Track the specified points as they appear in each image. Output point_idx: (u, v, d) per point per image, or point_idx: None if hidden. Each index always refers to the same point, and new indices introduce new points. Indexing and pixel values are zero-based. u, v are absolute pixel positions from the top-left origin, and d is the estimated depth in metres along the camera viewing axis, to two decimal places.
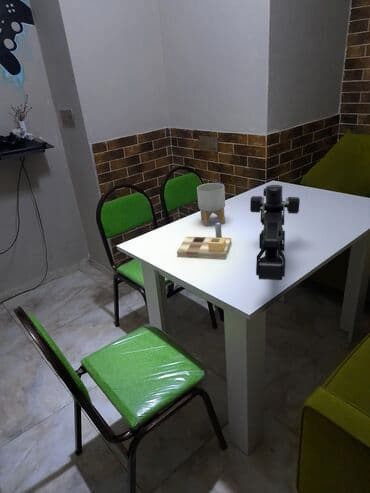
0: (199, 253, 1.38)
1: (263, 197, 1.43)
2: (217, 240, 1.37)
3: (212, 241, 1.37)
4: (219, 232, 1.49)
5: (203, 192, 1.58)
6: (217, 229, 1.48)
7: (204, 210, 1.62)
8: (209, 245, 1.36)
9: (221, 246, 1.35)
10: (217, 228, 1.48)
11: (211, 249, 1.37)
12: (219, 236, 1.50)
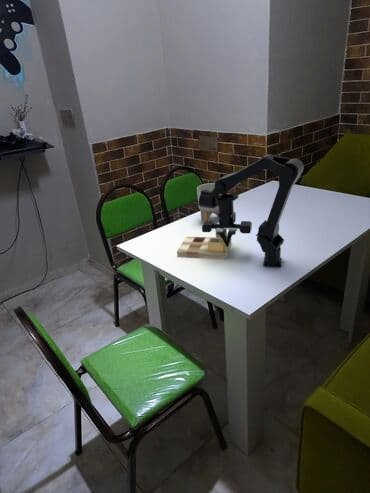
0: (199, 253, 1.38)
1: None
2: (217, 240, 1.37)
3: (212, 241, 1.37)
4: None
5: None
6: None
7: (204, 210, 1.62)
8: (209, 245, 1.36)
9: (221, 246, 1.35)
10: None
11: (210, 249, 1.37)
12: (219, 236, 1.50)
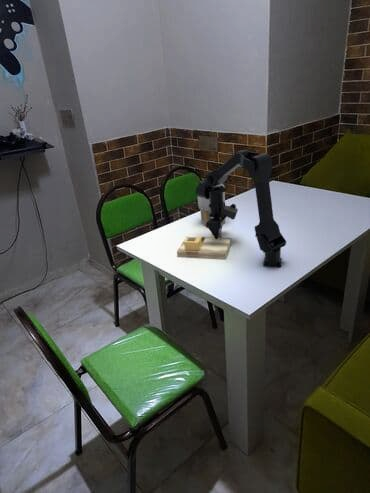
0: (199, 253, 1.38)
1: (221, 228, 1.53)
2: (193, 239, 1.40)
3: (188, 240, 1.40)
4: (219, 232, 1.49)
5: None
6: None
7: (204, 210, 1.62)
8: (185, 244, 1.39)
9: (197, 245, 1.38)
10: None
11: (187, 248, 1.40)
12: (219, 236, 1.50)
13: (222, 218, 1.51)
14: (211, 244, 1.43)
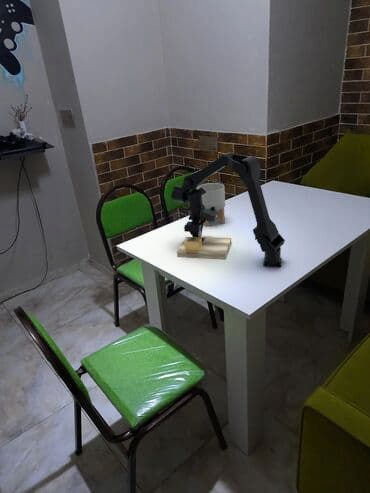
0: (199, 253, 1.38)
1: (201, 232, 1.49)
2: (193, 239, 1.40)
3: (188, 240, 1.40)
4: None
5: None
6: None
7: None
8: (185, 244, 1.39)
9: (197, 245, 1.38)
10: None
11: (187, 248, 1.40)
12: None
13: (202, 222, 1.47)
14: (211, 244, 1.43)
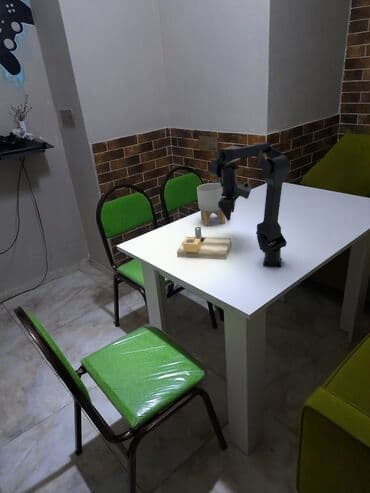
0: (199, 253, 1.38)
1: None
2: (192, 241, 1.39)
3: (187, 242, 1.39)
4: (199, 237, 1.46)
5: (203, 192, 1.58)
6: (197, 234, 1.45)
7: (204, 210, 1.63)
8: (184, 246, 1.38)
9: (195, 247, 1.37)
10: (197, 233, 1.45)
11: (186, 249, 1.39)
12: None
13: (234, 198, 1.44)
14: (211, 244, 1.43)
